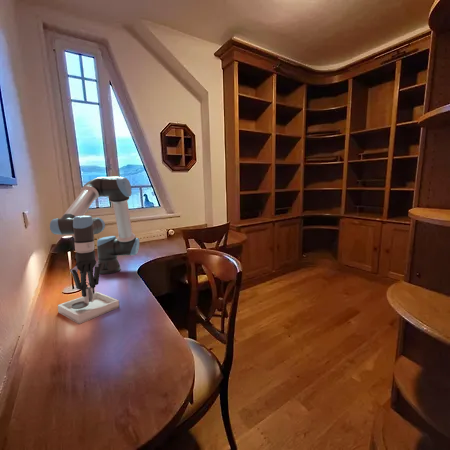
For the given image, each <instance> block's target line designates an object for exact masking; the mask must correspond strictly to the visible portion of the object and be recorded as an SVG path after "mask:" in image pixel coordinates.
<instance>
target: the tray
mask: <svg viewBox="0 0 450 450" xmlns="http://www.w3.org/2000/svg"><path fill="white" fill-rule="evenodd" d="M81 301H84V297H83V296H81V297H77V298H75V299H70V300H68V301H65V302H63V303H60V304H57V310H58V311H57V312H58V313H59V314H60V315H62V316H64V317H65V318H67V319H69V320H71V321H73V322H74V323H76V324H78V325H80V324H82V323H85V322H89V321H90V320H92V319H95V318H97V317H100V316H102V315H104V314H107V313H109V312H112V311H113V310H117V309H118V308H120V300H119V299H116V298H114V297H112V296H109V295H106V294H104V293H101V292H99V291H95V293H94V294H93V302H89V305H88V306H86V307H84V308H81V309H73V308H72V307H71V306H72V305H73V304H74V303H77V302H81Z"/></svg>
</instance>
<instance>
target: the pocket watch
mask: <svg viewBox="0 0 450 450" xmlns="http://www.w3.org/2000/svg"><path fill="white" fill-rule="evenodd" d="M88 287H89V281H88V282H87V281H86V289H88V293H89V302H90V301H92V298H93V295H92V291H91V290H90V288H88ZM88 305H89V303H88V304H87V303H85V302H84V301H81V302H77V303H74V304H73V305H72V306H71V307H72V308H73V309H81V308H84V307H86V306H88Z"/></svg>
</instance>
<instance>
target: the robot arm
mask: <svg viewBox="0 0 450 450" xmlns="http://www.w3.org/2000/svg"><path fill="white" fill-rule="evenodd" d="M131 185H132V184H131V182H130V180H129V179H128V178H127V177H123V176H98V177H95V178H93V179H90V180H89V181H88V182H86V183H84V185H83V186H82V187H81V188H80V193H79V195H77V197H76V198H75V199H74V201H73V202H72V203H71V204H70V206H68V208H67V210H66V211H65V212H64V213H63V215H62V216H61V217H60V218H52V219H51V220H50V223H49V230H50V231H51V233H52V234H54V235H59V236H63V235H64V236H65V235H67V236H69V235H73V239H74V250H75V253H74V254H75V255H74V256H75V261H76V263H75V265H74V267H73V268H70V269H69V272H70V274H71V275H72V279H73V281H74V284H75V288H76V289H77V290H79V291H81V297H84V302H85V303H87V304H88V303H89V293H88V289H86V284H87V283H86V282H87V278H88V283H89V285H88V288H90V290H91V291H92V295H93V294H94V293H95V292H96V291H95V288H96V286H98V285H99V283H100V282H99V281H100V275H107V274H109V275H110V274H113V273H118V272H119V271H121V265H120V264H121V263H120V261H119V260H118V256H136V255H137V254H138V252H139V248H140V238H138V237H136V234H135V233H134V232H133V228H132V227H133V226H132V222H131V216H130V215H131V214H130V210H129V209H130V208H129V203H128V201H129V200H130V197H132V186H131ZM101 197H104V198H105V197H106V198H108V201H109V202H111V204H112V207H113V213H114V217H115V223H116V228H117V233H118V235H117V237H116V235H109V236H103V237H100V238H98V239H97V241H96V249H97V250H96V251H97V260H96V251H95V237H94V235H97V234H100V233H101V232H103V231H104V230H105V227H106V223H105V221H104V220H103V218H101V217H93V216H92V215H85V214H86V213H87V211H88V210H89V208H90V207H91V205H92V203H94V201H96V200H97V199H98V198H101ZM78 271H79V273H78ZM79 274H80V275H79ZM90 302H93V298H92V301H90Z"/></svg>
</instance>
